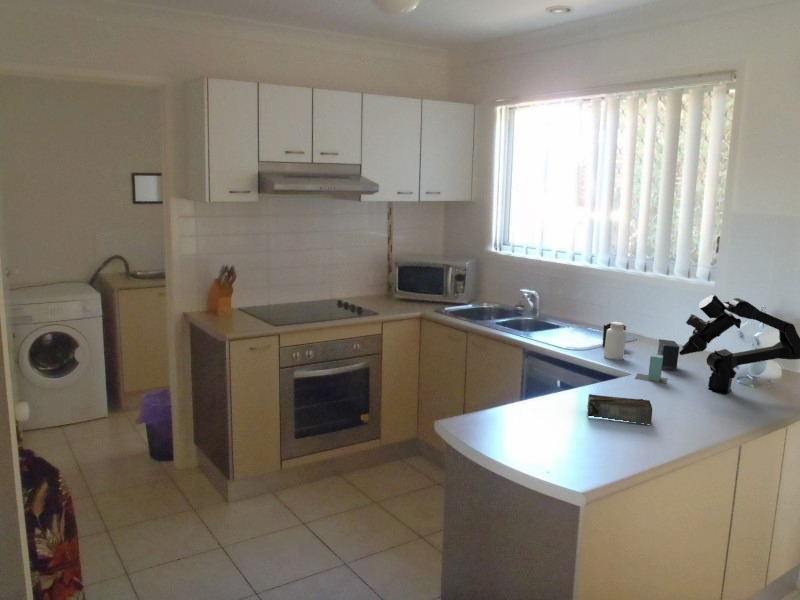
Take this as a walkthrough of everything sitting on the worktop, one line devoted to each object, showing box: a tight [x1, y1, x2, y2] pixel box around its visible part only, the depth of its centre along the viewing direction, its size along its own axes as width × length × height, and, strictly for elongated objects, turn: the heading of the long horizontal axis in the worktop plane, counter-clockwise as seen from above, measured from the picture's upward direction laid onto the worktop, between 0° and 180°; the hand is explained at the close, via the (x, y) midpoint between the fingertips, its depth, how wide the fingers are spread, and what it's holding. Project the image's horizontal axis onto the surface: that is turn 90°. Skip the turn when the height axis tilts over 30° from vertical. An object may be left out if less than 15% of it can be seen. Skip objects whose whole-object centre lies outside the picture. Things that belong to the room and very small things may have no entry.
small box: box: [656, 338, 680, 372], centre depth 266 cm, size 11×6×10 cm, turn 168°
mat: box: [634, 373, 669, 385], centre depth 250 cm, size 11×8×1 cm
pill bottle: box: [603, 321, 627, 361], centre depth 277 cm, size 8×8×15 cm
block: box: [647, 353, 663, 381], centre depth 249 cm, size 4×4×9 cm
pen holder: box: [602, 322, 627, 348], centre depth 295 cm, size 9×9×10 cm
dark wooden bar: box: [586, 393, 653, 425], centre depth 208 cm, size 8×19×7 cm, turn 76°
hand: (681, 351), depth 244 cm, fingers open, 9 cm apart
